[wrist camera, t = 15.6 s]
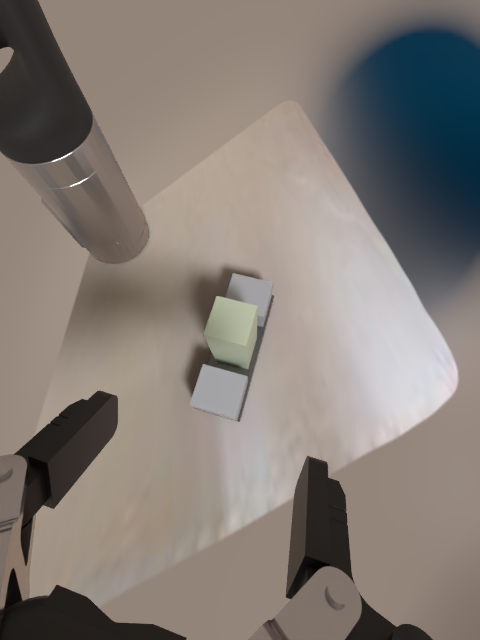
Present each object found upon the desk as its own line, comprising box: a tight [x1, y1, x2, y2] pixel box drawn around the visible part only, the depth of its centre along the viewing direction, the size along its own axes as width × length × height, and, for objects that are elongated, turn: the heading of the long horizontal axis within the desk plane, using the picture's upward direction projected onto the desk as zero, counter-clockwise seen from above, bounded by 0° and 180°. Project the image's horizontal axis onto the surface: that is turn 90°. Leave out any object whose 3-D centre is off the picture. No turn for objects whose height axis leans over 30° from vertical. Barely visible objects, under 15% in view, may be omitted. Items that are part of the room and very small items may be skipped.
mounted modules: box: [190, 273, 273, 421], centre depth 37 cm, size 5×16×4 cm, turn 164°
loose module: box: [203, 296, 258, 369], centre depth 34 cm, size 4×4×10 cm
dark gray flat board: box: [193, 295, 274, 422], centre depth 39 cm, size 6×16×1 cm, turn 164°
